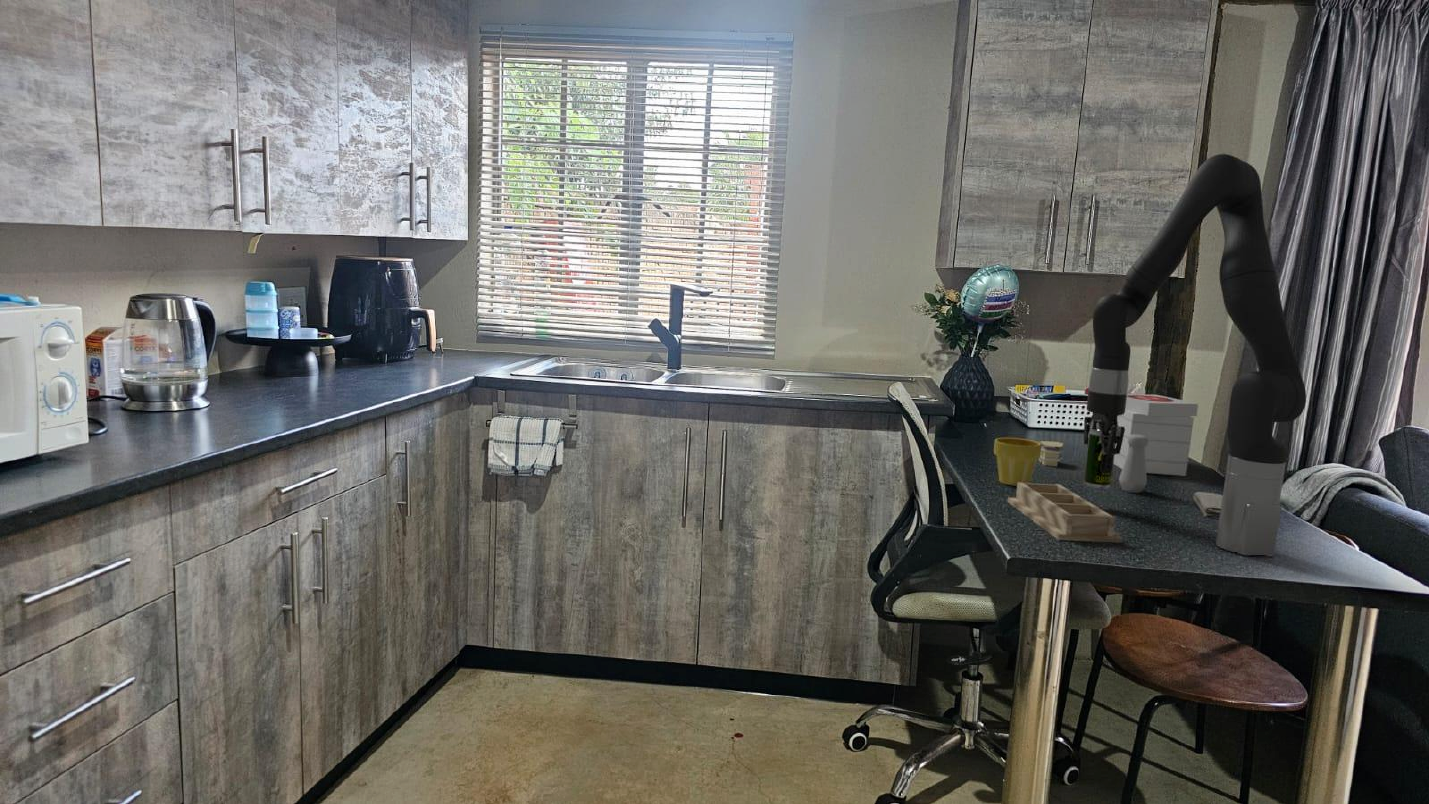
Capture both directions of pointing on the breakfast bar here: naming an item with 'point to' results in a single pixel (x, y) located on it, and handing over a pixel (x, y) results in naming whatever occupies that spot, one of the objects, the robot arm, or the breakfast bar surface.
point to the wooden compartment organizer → (1064, 513)
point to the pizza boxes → (1158, 431)
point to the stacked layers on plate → (1050, 453)
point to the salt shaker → (1134, 465)
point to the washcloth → (1209, 503)
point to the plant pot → (1016, 459)
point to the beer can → (1096, 463)
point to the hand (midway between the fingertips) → (1098, 469)
